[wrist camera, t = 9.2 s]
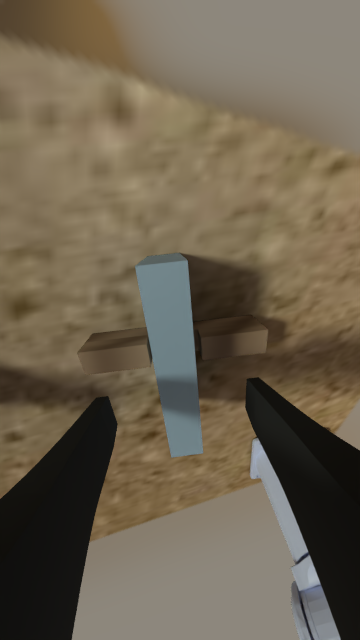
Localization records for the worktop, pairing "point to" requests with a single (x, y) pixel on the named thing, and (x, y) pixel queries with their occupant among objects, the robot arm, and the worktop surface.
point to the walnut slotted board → (209, 339)
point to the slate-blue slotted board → (172, 347)
